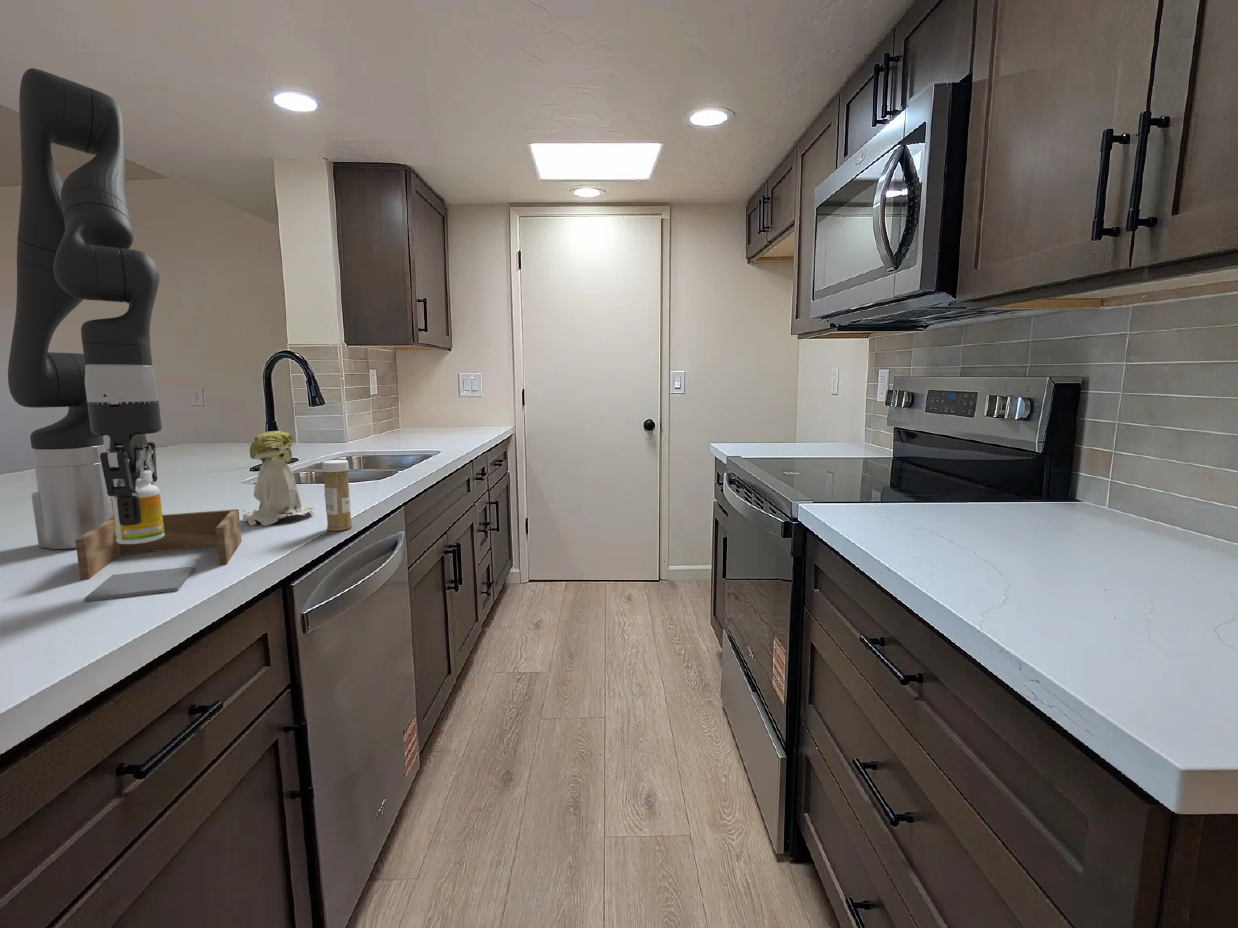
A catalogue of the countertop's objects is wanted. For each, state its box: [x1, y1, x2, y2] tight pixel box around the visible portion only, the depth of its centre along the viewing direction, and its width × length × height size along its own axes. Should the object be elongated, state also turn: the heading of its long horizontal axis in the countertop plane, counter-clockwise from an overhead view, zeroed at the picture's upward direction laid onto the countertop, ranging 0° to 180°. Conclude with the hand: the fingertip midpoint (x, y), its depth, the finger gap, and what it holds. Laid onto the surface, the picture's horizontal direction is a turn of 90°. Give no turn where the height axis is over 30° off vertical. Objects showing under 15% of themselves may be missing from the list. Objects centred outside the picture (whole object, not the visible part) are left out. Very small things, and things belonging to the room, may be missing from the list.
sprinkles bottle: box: [321, 459, 353, 532], centre depth 114 cm, size 5×5×14 cm
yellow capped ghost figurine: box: [242, 430, 314, 527], centre depth 122 cm, size 12×13×18 cm
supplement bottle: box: [110, 470, 164, 544], centre depth 82 cm, size 5×5×10 cm
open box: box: [75, 508, 242, 580], centre depth 95 cm, size 14×18×6 cm
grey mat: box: [84, 565, 196, 602], centre depth 84 cm, size 10×10×1 cm
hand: (138, 519), depth 82 cm, fingers closed on supplement bottle, 5 cm apart
